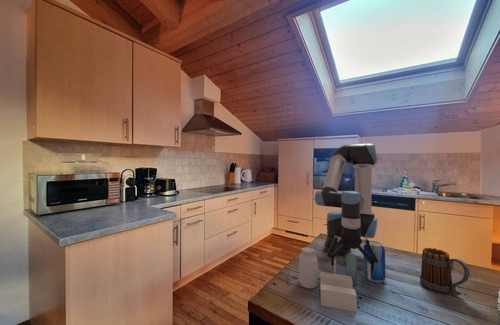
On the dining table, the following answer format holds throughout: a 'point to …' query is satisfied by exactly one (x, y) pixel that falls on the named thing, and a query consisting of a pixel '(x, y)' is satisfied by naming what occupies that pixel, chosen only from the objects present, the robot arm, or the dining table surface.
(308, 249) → the pill bottle
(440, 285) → the mug
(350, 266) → the peg
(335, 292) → the socket
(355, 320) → the dining table surface
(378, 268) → the beer can
